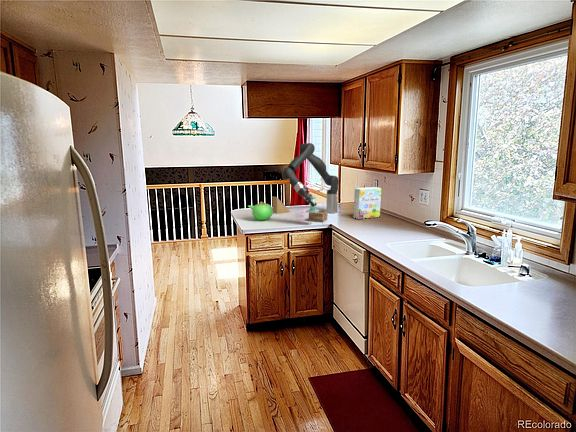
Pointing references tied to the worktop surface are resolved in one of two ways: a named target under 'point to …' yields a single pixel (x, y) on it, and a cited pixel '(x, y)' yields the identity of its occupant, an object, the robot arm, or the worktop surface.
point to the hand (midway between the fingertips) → (315, 205)
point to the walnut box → (318, 216)
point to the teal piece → (312, 209)
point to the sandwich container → (279, 206)
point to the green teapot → (261, 211)
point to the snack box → (367, 202)
